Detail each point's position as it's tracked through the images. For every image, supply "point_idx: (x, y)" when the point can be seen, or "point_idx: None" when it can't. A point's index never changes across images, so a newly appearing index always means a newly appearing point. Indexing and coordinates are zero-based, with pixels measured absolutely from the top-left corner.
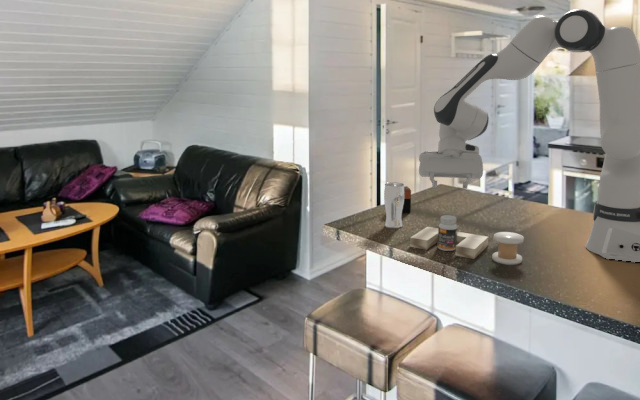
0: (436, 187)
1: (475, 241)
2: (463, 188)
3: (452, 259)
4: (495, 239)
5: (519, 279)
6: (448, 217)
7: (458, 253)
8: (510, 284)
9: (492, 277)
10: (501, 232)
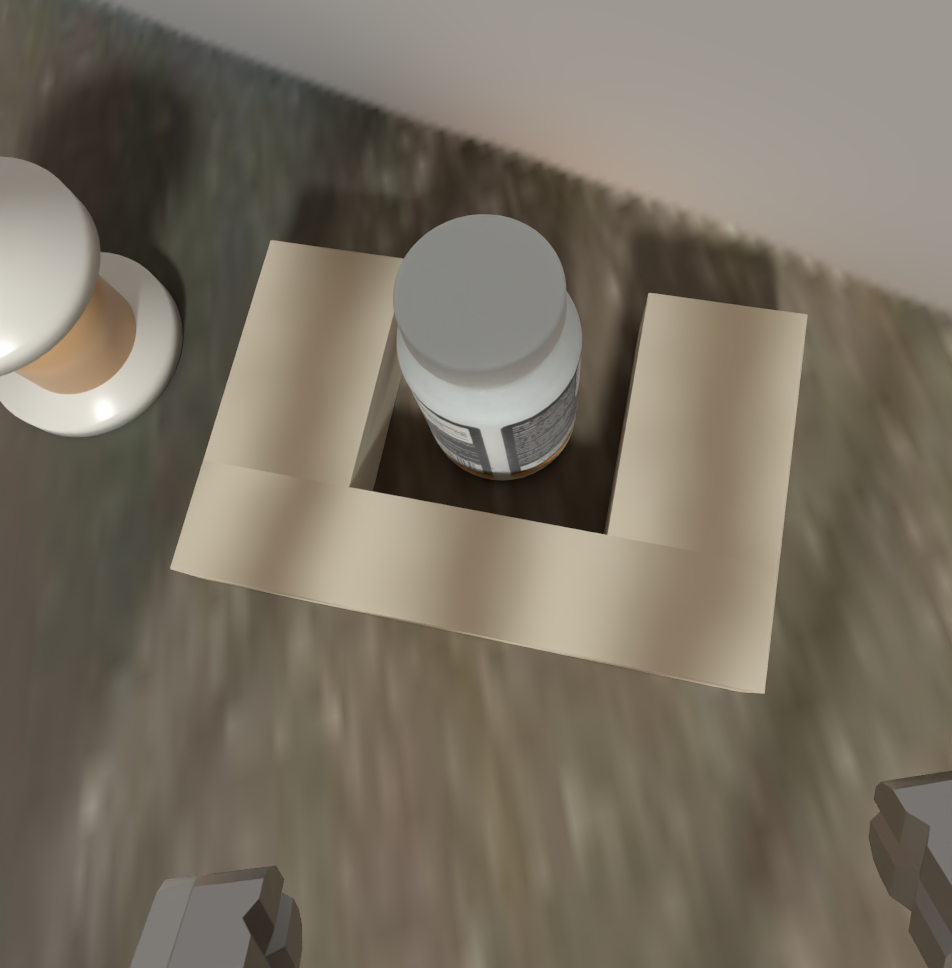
0: (878, 833)
1: (271, 409)
2: (280, 915)
3: (429, 225)
4: (83, 207)
5: (53, 90)
6: (477, 284)
7: None
8: (103, 18)
9: (187, 62)
10: (14, 335)
